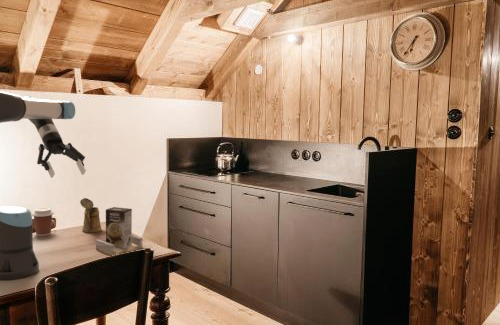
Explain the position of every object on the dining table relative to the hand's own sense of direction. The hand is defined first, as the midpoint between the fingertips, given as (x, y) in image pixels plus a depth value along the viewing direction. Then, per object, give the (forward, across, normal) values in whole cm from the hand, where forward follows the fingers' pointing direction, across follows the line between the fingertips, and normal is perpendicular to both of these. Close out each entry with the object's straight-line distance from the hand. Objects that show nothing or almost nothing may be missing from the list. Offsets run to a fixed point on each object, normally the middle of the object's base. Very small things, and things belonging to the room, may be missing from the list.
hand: (68, 174), depth 180 cm
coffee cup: (+2, -2, -43) cm, 43 cm away
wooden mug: (+11, -19, -34) cm, 41 cm away
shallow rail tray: (+34, -13, -11) cm, 38 cm away
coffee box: (+33, -13, -10) cm, 37 cm away
